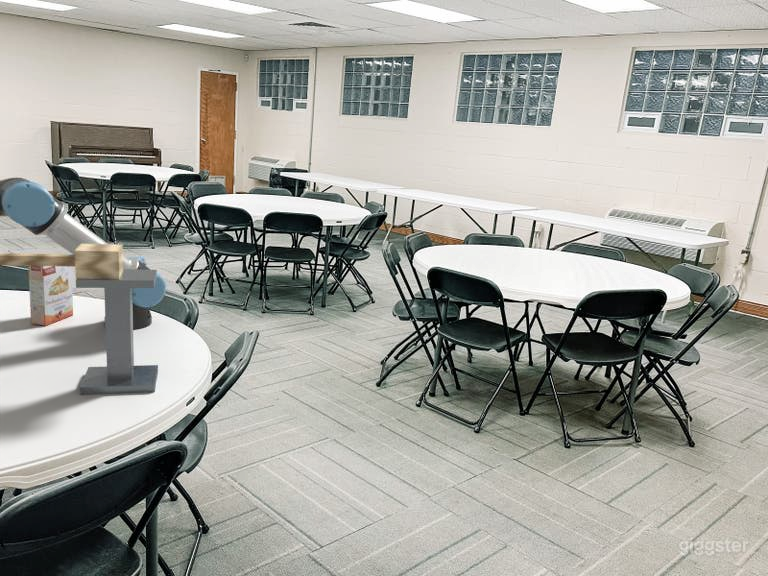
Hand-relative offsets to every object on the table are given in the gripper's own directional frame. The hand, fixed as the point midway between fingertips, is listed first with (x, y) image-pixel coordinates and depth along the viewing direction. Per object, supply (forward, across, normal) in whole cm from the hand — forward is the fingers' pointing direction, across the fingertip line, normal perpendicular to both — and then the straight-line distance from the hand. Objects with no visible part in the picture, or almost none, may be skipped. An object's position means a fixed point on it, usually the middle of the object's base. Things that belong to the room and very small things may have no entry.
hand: (5, 252), depth 167 cm
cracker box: (0, -51, -13) cm, 53 cm away
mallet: (+14, +13, -11) cm, 22 cm away
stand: (+20, +1, -41) cm, 46 cm away
